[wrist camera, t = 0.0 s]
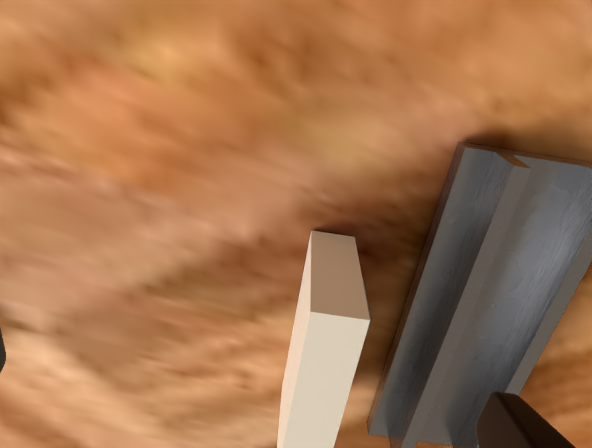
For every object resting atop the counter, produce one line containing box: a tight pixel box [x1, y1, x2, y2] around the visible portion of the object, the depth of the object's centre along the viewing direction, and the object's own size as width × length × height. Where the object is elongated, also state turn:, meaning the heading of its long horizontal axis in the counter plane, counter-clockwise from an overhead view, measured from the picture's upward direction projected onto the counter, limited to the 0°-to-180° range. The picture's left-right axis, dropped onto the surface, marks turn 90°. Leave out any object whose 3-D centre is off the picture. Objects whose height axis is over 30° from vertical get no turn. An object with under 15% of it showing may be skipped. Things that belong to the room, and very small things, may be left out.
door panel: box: [277, 230, 372, 448], centre depth 22 cm, size 12×3×7 cm, turn 171°
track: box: [367, 142, 592, 448], centre depth 23 cm, size 20×8×3 cm, turn 171°
